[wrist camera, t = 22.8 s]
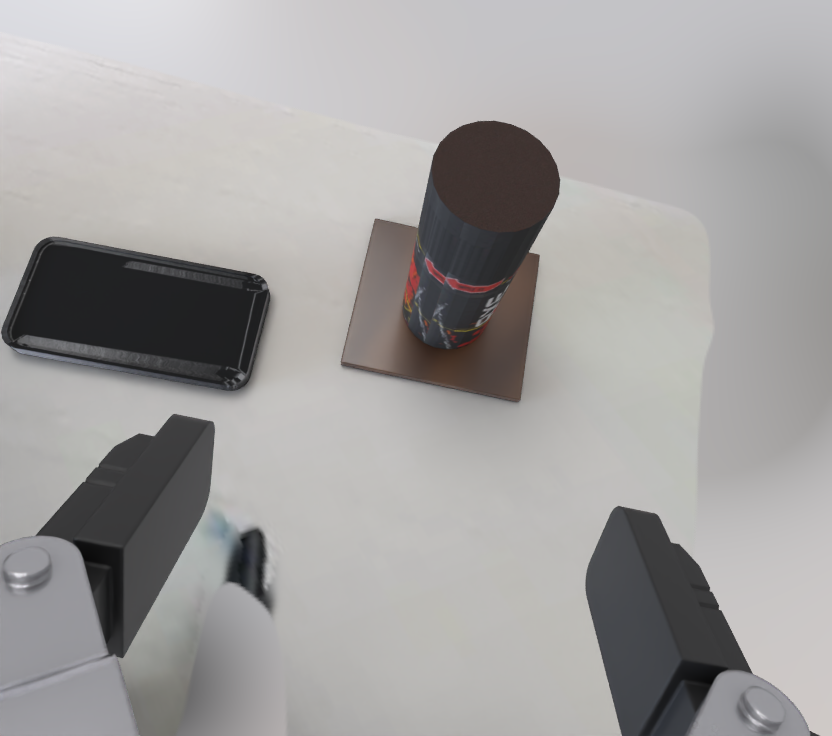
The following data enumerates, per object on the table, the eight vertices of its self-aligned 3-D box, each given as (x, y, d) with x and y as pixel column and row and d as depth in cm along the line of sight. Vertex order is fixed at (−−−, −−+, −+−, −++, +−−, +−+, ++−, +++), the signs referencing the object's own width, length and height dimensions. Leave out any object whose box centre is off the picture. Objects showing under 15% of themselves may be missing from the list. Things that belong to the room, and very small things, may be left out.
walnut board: (340, 365, 41) (340, 362, 40) (374, 222, 45) (375, 217, 44) (518, 402, 42) (520, 400, 41) (537, 258, 45) (539, 254, 45)
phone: (243, 388, 39) (-6, 344, 38) (245, 393, 40) (4, 350, 39) (272, 275, 41) (40, 231, 40) (274, 283, 42) (48, 240, 41)
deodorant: (462, 365, 41) (523, 256, 27) (385, 319, 42) (406, 188, 28) (503, 297, 43) (581, 161, 29) (430, 254, 44) (471, 100, 29)
